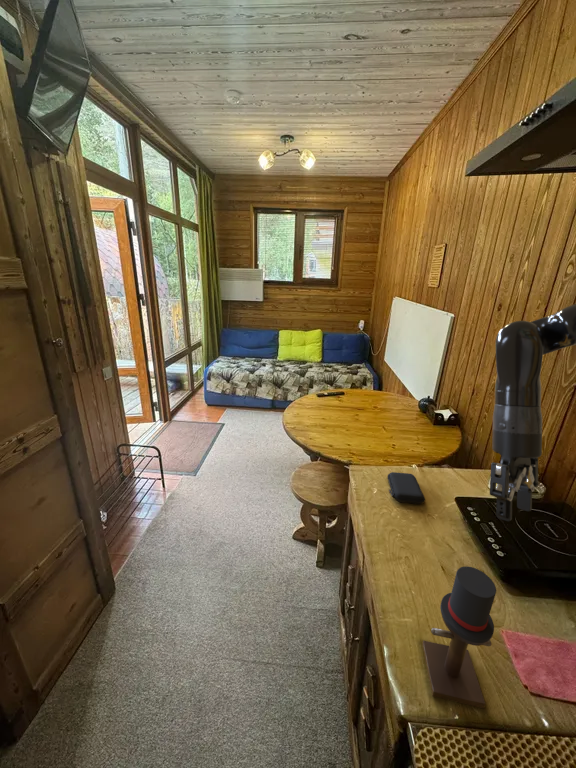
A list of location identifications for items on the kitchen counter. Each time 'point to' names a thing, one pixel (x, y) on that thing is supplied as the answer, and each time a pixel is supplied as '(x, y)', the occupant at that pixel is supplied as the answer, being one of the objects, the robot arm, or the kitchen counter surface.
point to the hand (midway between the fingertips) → (514, 514)
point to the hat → (470, 605)
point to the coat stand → (452, 669)
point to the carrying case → (405, 488)
